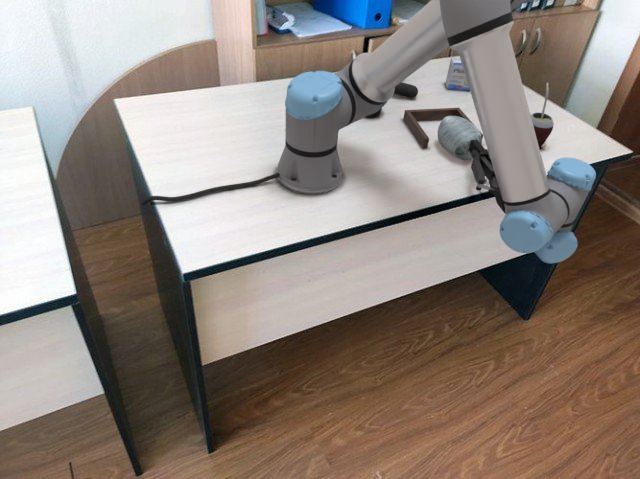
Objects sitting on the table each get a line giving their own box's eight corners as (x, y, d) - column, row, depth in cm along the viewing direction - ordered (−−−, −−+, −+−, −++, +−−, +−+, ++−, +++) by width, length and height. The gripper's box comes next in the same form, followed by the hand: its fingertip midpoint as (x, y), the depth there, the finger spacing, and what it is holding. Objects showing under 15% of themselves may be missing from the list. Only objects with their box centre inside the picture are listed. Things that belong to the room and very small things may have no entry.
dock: (422, 148, 132) (425, 138, 130) (403, 119, 144) (404, 110, 142) (480, 145, 135) (483, 135, 134) (456, 117, 147) (459, 107, 145)
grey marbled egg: (494, 152, 126) (483, 118, 121) (461, 172, 127) (448, 138, 122) (469, 137, 138) (457, 105, 133) (438, 155, 139) (425, 123, 134)
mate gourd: (533, 153, 134) (554, 100, 124) (510, 139, 139) (528, 87, 129) (551, 146, 137) (573, 94, 127) (528, 133, 142) (547, 82, 132)
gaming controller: (394, 84, 167) (371, 69, 162) (405, 69, 164) (382, 53, 159) (409, 107, 155) (385, 92, 150) (422, 92, 152) (397, 76, 147)
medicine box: (446, 89, 161) (453, 62, 155) (444, 83, 164) (451, 57, 158) (471, 91, 161) (479, 64, 155) (469, 85, 164) (476, 58, 158)
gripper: (487, 219, 107) (444, 159, 125) (542, 214, 110) (492, 156, 127) (497, 190, 102) (451, 132, 120) (554, 186, 105) (501, 129, 122)
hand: (472, 144), depth 123 cm, fingers closed
